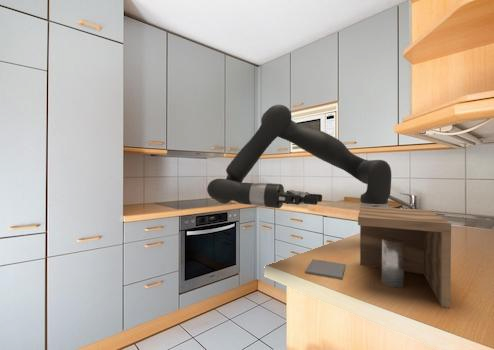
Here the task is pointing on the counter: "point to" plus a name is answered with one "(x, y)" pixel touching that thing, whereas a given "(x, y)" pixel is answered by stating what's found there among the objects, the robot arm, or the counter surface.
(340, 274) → the rubber mat
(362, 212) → the walnut desk
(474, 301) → the counter surface
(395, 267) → the steel tin
